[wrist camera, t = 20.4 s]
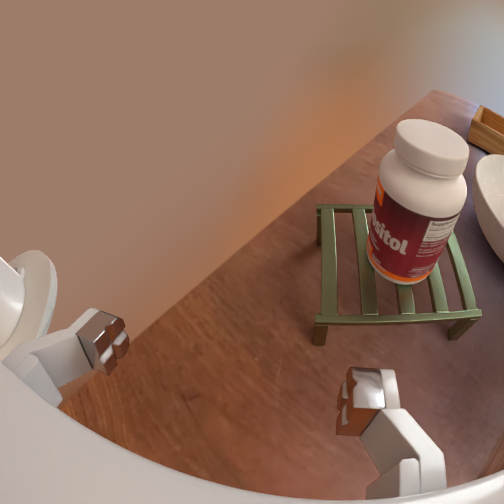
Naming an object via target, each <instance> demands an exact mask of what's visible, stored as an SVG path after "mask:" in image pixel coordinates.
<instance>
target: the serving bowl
mask: <svg viewBox="0 0 504 504" xmlns="http://www.w3.org/2000/svg"><path fill="white" fill-rule="evenodd" d="M473 203H474V208H475V212H476V215H477V219H478V221H479V224H480V227H481V229H482V231H483V233H484V235H485V237H486V239H487V241H488V242H489V244H490V246H491V247H492V249H493V250H494V252H495V253H496V254H497V256H498V257H499V258H500V259H501V261H502V262H503V263H504V156H503V155H496V154H492V155H487V156H484V157H482V158H481V159H480V160H479V161H478V162H477V164H476V167H475V171H474V177H473Z"/></svg>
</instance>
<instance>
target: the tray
mask: <svg viewBox="0 0 504 504" xmlns="http://www.w3.org/2000/svg"><path fill="white" fill-rule="evenodd" d="M468 141H470V142H471V143H473V144H475V145H477V146H479V147H481V148H482V149H484V150H486V151H488V152H489V153H491V154H496V155H503V156H504V117H502V116H500V115H499V114H497V113H495V112H493V111H491V110H490V109H488V108H486V107H484V106H482V105H480V107H479V108H478V110H477V112H476V113H475V115H474V117H473V119H472V122H471V126H470V130H469V135H468Z"/></svg>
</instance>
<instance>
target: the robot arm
mask: <svg viewBox="0 0 504 504" xmlns="http://www.w3.org/2000/svg"><path fill="white" fill-rule="evenodd" d="M24 276H25V269H24V268H23V267H22V266H19V267H15V268H12V267H11V266H9V265H8V264H7V263H6V262H5V261H4V260H3V259H2V258H1V257H0V348H1V347H2V346H3V345H4V344H5V343H6V342H7V340H8V339H9V338H10V336H11V334H12V333H13V331H14V329H15V327H16V325H17V322H18V320H19V317H20V314H21V311H22V308H23V304H24V298H25V286H24ZM124 328H125V324H124V321H123V319H121V318H119V317H116V316H114V315H111V314H108V313H106V312H103V311H100V310H98V309H95V308H89V309H88V310H87V311H86V312H85V313H83V314H82V315H81V316H80V317H79V318H78V319H77V320H76V321H75V322H74V323H73V324H72V325H71V326H70V327H69V328H68V329H66V330H65V329H62V330H59V331H56V332H53V333H50V334H47V335H44V336H41V337H38V338H35V339H32V340H29V341H26V342H23V343H20V344H19V345H18V346H17V347H16V348H15V349H14V350H13V351H12V352H11V353H10V354H9V355H8V356H7V357H6V358H5V359H4V360H3V361H2V362H1V361H0V504H504V470H501V471H499V472H496V473H494V474H491V475H488V476H485V477H483V478H480V479H477V480H474V481H470V482H467V483H464V484H460V485H457V486H453V487H449V488H447V482H446V471H445V462H444V454H443V453H442V451H441V450H440V449H439V448H438V447H437V446H436V444H435V443H434V442H433V441H432V440H431V439H430V437H429V436H428V435H427V434H426V433H425V432H424V430H423V429H422V428H421V427H420V426H419V425H418V424H417V422H416V421H415V420H414V419H413V418H412V417H411V416H410V414H409V413H408V412H407V411H406V410H405V409H401V406H400V400H399V393H398V387H397V382H396V376H395V372H394V370H389V369H374V368H359V367H350V368H349V369H348V371H347V374H346V381H344V382H343V383H342V385H341V387H340V390H339V394H338V400H337V408H338V410H339V411H340V413H339V415H338V417H337V419H336V435H345V436H360V437H359V438H360V440H361V441H362V443H363V445H364V447H365V448H366V450H367V452H368V454H369V455H370V457H371V459H372V461H373V462H374V464H375V466H376V468H377V469H378V471H379V473H380V474H381V477H379V478H378V479H377V480H375V481H374V482H372V483H371V484H370V485H369V486H367V490H366V500H315V499H301V498H291V497H283V496H276V495H269V494H263V493H257V492H252V491H247V490H242V489H238V488H233V487H229V486H225V485H221V484H217V483H214V482H210V481H207V480H203V479H200V478H197V477H194V476H190V475H187V474H185V473H182V472H179V471H176V470H173V469H171V468H168V467H165V466H163V465H160V464H158V463H155V462H153V461H151V460H148V459H146V458H144V457H142V456H139V455H137V454H135V453H133V452H131V451H129V450H127V449H125V448H123V447H121V446H119V445H117V444H115V443H113V442H111V441H109V440H107V439H105V438H104V437H102V436H100V435H98V434H97V433H95V432H93V431H91V430H90V429H88V428H86V427H85V426H83V425H82V424H80V423H78V422H77V421H75V420H74V419H72V418H71V417H69V416H68V415H66V414H65V413H63V412H62V411H60V410H59V409H58V408H56V407H57V406H58V405H59V403H60V402H61V401H62V395H61V394H60V392H59V391H58V389H57V388H59V387H61V386H63V385H65V384H67V383H69V382H71V381H73V380H75V379H76V378H78V377H80V376H82V375H84V374H86V373H87V372H90V371H91V370H92V369H94V370H97V371H99V372H101V373H103V374H106V375H108V376H109V375H110V374H111V372H112V371H113V370H114V368H115V367H116V366H117V365H118V364H117V359H120V358H122V357H124V356H125V354H126V353H127V351H128V348H129V337H128V334H127V333H126V332H125V331H124Z"/></svg>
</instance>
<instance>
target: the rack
mask: <svg viewBox="0 0 504 504" xmlns="http://www.w3.org/2000/svg"><path fill="white" fill-rule="evenodd" d="M373 206H374V205H351V204H317V245H322V274H321V314H318V313H316V314H315V326H314V342H313V345H319V346H324V345H325V342H326V336H327V330H328V325H339V326H359V325H401V324H422V323H437V322H451V321H457V322H456V323H455V324H454V325H453V326H452V327H451V328H450V329H449V330H448V337H449V341H450V340H457V339H458V338H460V337H461V336H462V335H463V334H464V333H465V332H466V331H467V330H468V329H469V328H470V327H471V326H472V325H474V324H475V323H476V322H477V321H478V320H479V318H481V316H482V311H481V309H479V310H477V305H476V301H475V297H474V293H473V289H472V285H471V282H470V278H469V275H468V271H467V268H466V265H465V262H464V259H463V256H462V253H461V250H460V247H459V244H458V241H457V239H456V236H455V233H454V231H452V233H451V235H450V237H449V239H448V241H447V243H446V247H447V250H448V254H449V257H450V260H451V263H452V267H453V270H454V274H455V277H456V281H457V285H458V289H459V293H460V297H461V302H462V306H463V311H456V312H449V310H448V305H447V300H446V295H445V291H444V286H443V282H442V278H441V274H440V270H439V266H438V262H437V263H436V265H435V267H434V268H433V270H432V271H431V273H430V274H429V275H428V276H427V281H428V286H429V291H430V296H431V302H432V307H433V313H423V314H415V306H414V300H413V293H412V287H411V284H410V285H402V284H397V283H395V286H396V293H397V301H398V309H399V314H397V315H378V307H377V295H376V285H375V276H374V268H373V267H372V265H371V263H370V262H369V259H368V256H367V251H366V245H367V238H368V227H367V221H366V216H365V213H372V212H373ZM334 213H352V218H353V226H354V234H355V242H356V252H357V262H358V273H359V287H360V304H361V315H337V260H336V239H335V223H334Z"/></svg>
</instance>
